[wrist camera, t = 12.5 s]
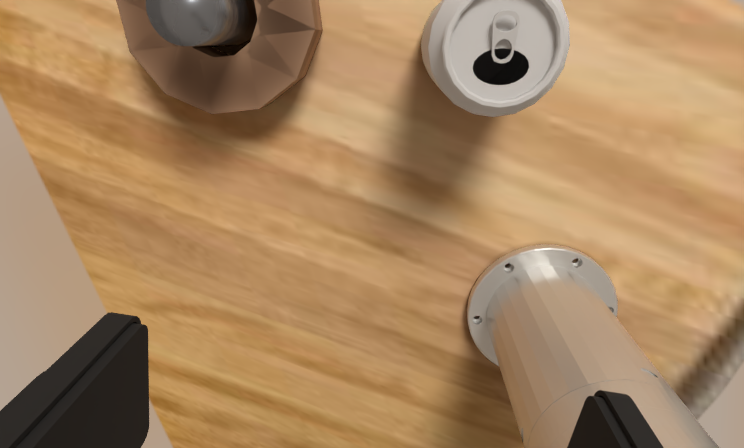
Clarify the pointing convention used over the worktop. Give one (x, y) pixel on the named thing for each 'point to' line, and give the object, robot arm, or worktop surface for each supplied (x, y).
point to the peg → (203, 21)
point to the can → (495, 52)
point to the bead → (229, 57)
